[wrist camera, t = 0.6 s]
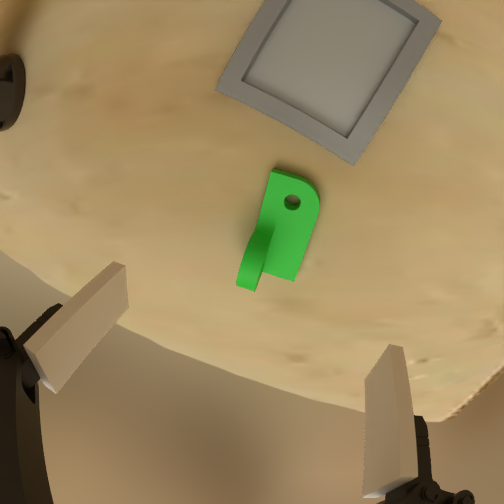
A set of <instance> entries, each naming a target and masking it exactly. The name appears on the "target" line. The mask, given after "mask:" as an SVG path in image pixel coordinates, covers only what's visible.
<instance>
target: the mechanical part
mask: <svg viewBox="0 0 504 504" xmlns="http://www.w3.org/2000/svg"><path fill="white" fill-rule="evenodd" d="M291 194H293V195H296V196H298V197H299V199H300V201H301V202H300V203H299V204H297V205H291V204H289V203H288V202H287V201H286V196H288V195H291ZM319 203H320V200H319V194H318V191H317V189H316V188H315V186H314V185H313V184H312V183H311V182H310V181H309V180H307V179H306V178H304V177H301V176H298V175H295V174H292V173H288V172H285V171H282V170H278V169H275V168H273V170H272V171H271V173H270V177H269V181H268V185H267V189H266V192H265V196H264V200H263V204H262V208H261V212H260V216H259V219H258V223H257V226H256V228H255V231H254V233H253V234H252V236H251V238H250V240H249V242H248V245H247V247H246V250H245V253H244V256H243V259H242V262H241V265H240V269H239V272H238V276H237V282H236V286H239V287H242V288H246V289H249V290H252V291H255V290H256V287H257V285H258V282H259V279H260V276H261V274H262V272H265V273H268V274H271V275H274V276H277V277H280V278H284V279H287V280H290V281H293V282H294V280H295V278H296V275H297V272H298V270H299V267H300V264H301V261H302V259H303V256H304V253H305V250H306V248H307V245H308V242H309V239H310V236H311V234H312V231H313V228H314V225H315V222H316V219H317V216H318V213H319Z"/></svg>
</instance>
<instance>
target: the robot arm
mask: <svg viewBox="0 0 504 504" xmlns="http://www.w3.org/2000/svg"><path fill="white" fill-rule="evenodd" d="M24 90H25V72H24V67H23V63H22V61H21V59H20V58H19V57H18V56H17V55H15V54H7V55H2V56H0V132H1V131H4V130H7V129H9V128H10V127H11V126H12V125H13V124H14V123H15V121H16V119H17V117H18V115H19V113H20V110H21V106H22V102H23V98H24ZM128 308H129V304H128V294H127V282H126V268H125V265H122V264H119V263H117V262H114V261H113V262H112V263H111V264H110V265H108V266H107V267H106V268H105V269H104V270H103V271H101V272H100V273H99V274H98V275H97V276H96V277H95V278H93V279H92V280H91V281H90V282H89V283H88V284H87V285H85V286H84V287H83V288H82V289H81V290H80V291H79V292H78V293H77V294H75V295H74V296H73V297H72V298H71V299H70V300H69V301H68V302H67V303H66V304H65V305H64V306H63V305H61V304H59V303H58V304H56V305H54V306H52V307H50V308H49V309H47V310H46V311H45V312H44V313H43V314H42V316H40V317H39V318H38V319H37V320H36V322H34V323H33V324H31V325H30V327H28V328H27V329H26V330H25V331H24V332H23V333H22V334H21V335H20V336H19V337H18V338H17V339H16V340H15V339H14V337H13V335H12V333H11V331H10V330H9V329H8V328H6V327H0V504H53V499H52V495H51V491H50V486H49V481H48V477H47V471H46V465H45V459H44V452H43V444H42V435H41V425H40V411H39V387H38V380H39V379H40V378H41V380H42V382H43V383H44V385H45V386H46V387H47V388H49V389H50V390H51V391H53V392H54V393H56V394H57V393H58V392H59V390H60V389H61V388H62V386H63V385H64V384H65V383H66V381H67V380H68V379H69V377H70V376H71V375H72V374H73V373H74V371H75V370H76V369H77V368H78V366H79V365H80V364H81V363H82V362H83V360H84V359H85V358H86V357H87V355H88V354H89V353H90V352H91V351H92V349H93V348H94V347H95V346H96V345H97V344H98V342H99V341H100V340H101V339H102V338H103V336H104V335H105V334H106V333H107V332H108V331H109V329H110V328H111V327H112V326H113V325H114V324H115V323H116V321H117V320H118V319H119V318H120V317H121V316H122V314H123V313H124V312H125V311H126V310H127V309H128ZM385 494H386V497H385V500H384V501H382V502H379V503H377V504H475V500H474V496H473V494H472V493H471V492H470V491H468V490H463V491H460V492H458V493H456V494H454V493H450V492H447V491H443V490H441V489H440V487H439V485H438V484H437V482H435V481H433V479H432V474H431V458H430V448H429V439H428V429H427V425H426V423H425V421H424V419H423V417H422V416H415V415H414V414H413V406H412V399H411V392H410V385H409V379H408V373H407V367H406V361H405V356H404V351H403V347H400V346H396V345H391V344H389V345H388V347H387V348H386V350H385V351H384V353H383V354H382V356H381V357H380V359H379V360H378V362H377V363H376V364H375V366H374V367H373V369H372V370H371V371H370V373H369V374H368V376H367V377H366V378H365V453H364V473H363V486H362V498H378V497H381V496H382V495H385Z"/></svg>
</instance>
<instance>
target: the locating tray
mask: <svg viewBox="0 0 504 504" xmlns="http://www.w3.org/2000/svg"><path fill="white" fill-rule="evenodd" d="M441 22H442V20H440V19H439V18H438V17H437V16H435V15H434V14H432V13H431V12H430V11H428V10H427V9H425V8H424V7H423V6H421V5H420V4H418V3H417V2H415V1H414V0H265V1H264V3H263V4H262V6H261V8H260V9H259V11H258V12H257V14H256V16H255V17H254V19H253V21H252V22H251V24H250V26H249V27H248V29H247V31H246V32H245V34H244V36H243V38H242V39H241V41H240V43H239V45H238V46H237V48H236V50H235V52H234V54H233V56H232V57H231V59H230V61H229V63H228V65H227V67H226V69H225V70H224V72H223V74H222V76H221V78H220V80H219V82H218V84H217V86H216V88H215V90H216V91H218V92H220V93H223V94H225V95H227V96H229V97H231V98H233V99H236V100H238V101H240V102H242V103H244V104H246V105H248V106H250V107H252V108H254V109H256V110H258V111H260V112H262V113H264V114H266V115H268V116H270V117H271V118H273V119H275V120H277V121H279V122H281V123H283V124H284V125H286V126H288V127H290V128H292V129H293V130H295V131H297V132H299V133H300V134H302V135H304V136H306V137H307V138H309V139H311V140H312V141H314V142H316V143H317V144H319V145H321V146H322V147H324V148H326V149H327V150H329V151H330V152H332V153H334V154H335V155H337V156H338V157H340V158H342V159H343V160H345V161H346V162H348V163H349V164H351V165H352V166H354V165H355V164H356V162H357V161H358V159H359V158H360V156H361V155H362V153H363V152H364V150H365V148H366V147H367V145H368V144H369V142H370V141H371V139H372V138H373V136H374V134H375V133H376V131H377V130H378V128H379V127H380V125H381V123H382V122H383V120H384V119H385V117H386V115H387V114H388V112H389V111H390V109H391V107H392V106H393V104H394V102H395V101H396V99H397V98H398V96H399V94H400V93H401V91H402V89H403V88H404V86H405V84H406V83H407V81H408V79H409V78H410V76H411V74H412V73H413V71H414V69H415V68H416V66H417V64H418V62H419V61H420V59H421V57H422V56H423V54H424V52H425V50H426V49H427V47H428V45H429V43H430V42H431V40H432V38H433V36H434V35H435V33H436V31H437V29H438V28H439V26H440V24H441Z"/></svg>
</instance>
